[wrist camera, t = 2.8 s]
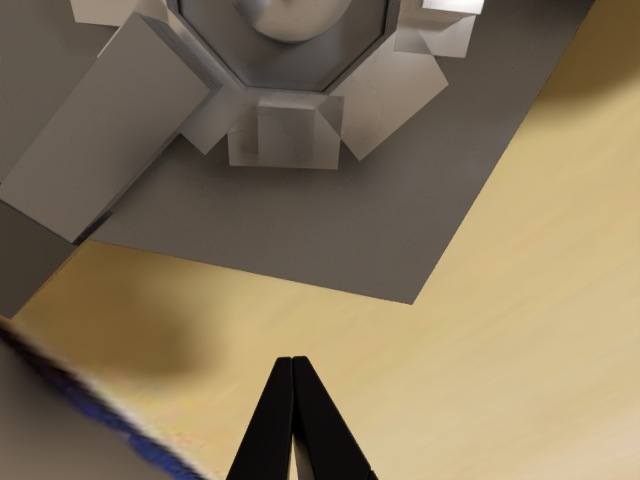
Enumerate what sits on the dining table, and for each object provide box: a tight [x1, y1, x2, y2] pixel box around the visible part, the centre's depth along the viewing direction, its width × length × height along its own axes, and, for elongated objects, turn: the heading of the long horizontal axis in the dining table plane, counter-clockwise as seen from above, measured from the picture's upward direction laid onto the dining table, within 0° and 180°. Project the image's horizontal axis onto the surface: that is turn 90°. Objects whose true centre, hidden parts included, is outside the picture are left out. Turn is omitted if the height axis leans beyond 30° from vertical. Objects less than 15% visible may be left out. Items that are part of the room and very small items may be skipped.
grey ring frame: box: [0, 0, 484, 319], centre depth 10 cm, size 21×13×5 cm, turn 131°
